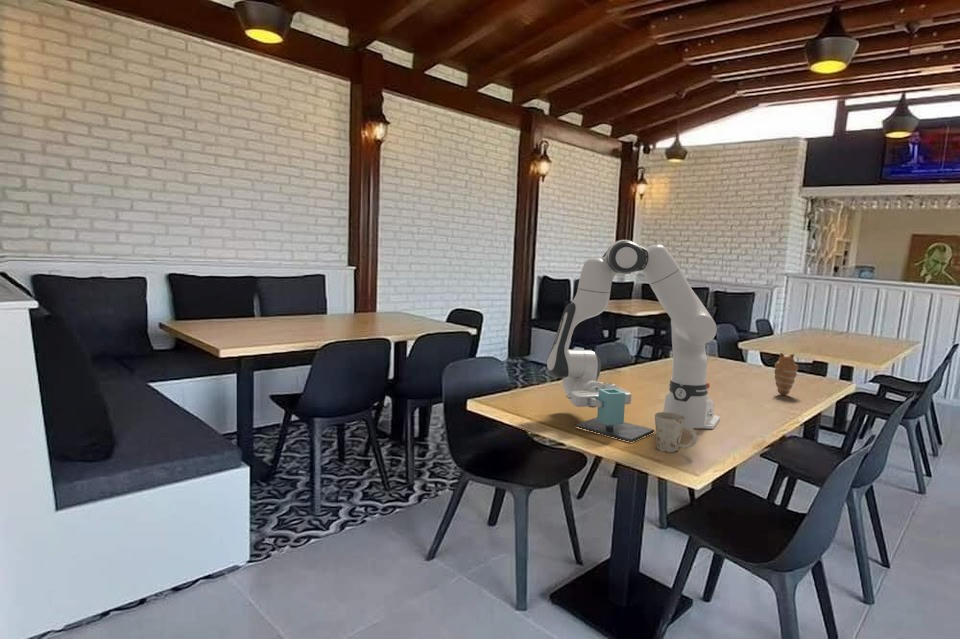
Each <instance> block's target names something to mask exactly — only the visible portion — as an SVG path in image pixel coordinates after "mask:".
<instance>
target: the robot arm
mask: <svg viewBox="0 0 960 639" xmlns="http://www.w3.org/2000/svg"><path fill="white" fill-rule="evenodd" d="M639 271H640V272H641V273H642V274H643V276H644V277H645V278H646V280H647V282H648V284H649V287H650V288H651V289H652V291H653V293H654V294H655V297H656V299H657V300H658V302H659V304H660V305H661V307H662V308H663V309H664V310H665V312H666V313H667V315H668V316H669V318H670V326H671V345H672V348H671V349H672V365H671V366H672V368H671V380H669V386H668V387H669V388H668V389H669V392H668V393H666V395H665V397H664V402H663V403H664V404H663V409H662V412H670V413H676V414H680V415H682V416H684V417H685V421H684V425H687V426H690V427H692V428H693V429H709V430H711V429H712V430H713V429H714V428H715V427H717V426H716V425H718V423H719V422H720V421H721V416H718V415H717V414H714V408H715V405H714V401H713V400H712V399H711V398H710V396H709V395H708V394H709V393H708V391H709V389H710V386H711V384H710V382H707V374H708V373H707V372H708V358H707V353H706V344H708V343H710V342H711V341H712V340H714V339H715V336H716V335H717V331H718V330H717V324H716V322H715V320H714V318H713V317H712V315H711V314H710V312H709V311H708V310H707V308H706V307H705V305H704V303H703V302H702V301H701V299H700V298H699V296H698V295H697V294H696V292H694V290H693V289H692V287H691V285H690V284H689V282H688V280H687V278H686V276H685V274H684V273H683V271H682V270H681V268H680V266H679V264H678V263H677V261H676V260H675V258H674V257H673V255H672V254H671V253H670V252H669V251H668V249H667V248H666V247H665V246H664V245H662V244H651V245H649V246H647V247H643V246H641V245H640V244H637V243H636V242H633V241H632V240H629V239H620V240H616V241H615V242H614V243H612V244H611V245H610V246H609V248H608V249H607V250H606V251H605V253H604V254H603V255H602V257H591V258H588V259H587V260H586V261H585V262H584V263H583V266H582V268H581V272H580V276H579V280H578V284H577V291H576V294H575V296H574V298H573V300H572V301H571V302H570V303H568V304H567V305H566V306H565V308H564V310H563V313H562V316H561V318H560V321H559V326H558V329H557V331H556V334H555V338H554V342H553V345H552V347H551V349H550V352H549V353H548V356H547V358H546V359H547V360H546V368H547V370H548V372H549V373H550V374H551V375H552V376H553V377H554V378H556V379H562V381H561V384H562V389H563V391H564V392H565V393H566V395H565V398H567V399H568V400H570V403H571V404H572V405H573V406H574V407H579V408H584V407H585V408H586V407H588V408H598V407H604V401H599V400H598V396H599V389H617V390H620V391H622V392H624V393H625V405H631V403H632V393H631V392H630V391H628V390H627V389H624V388H622V387H620V386H619V387H618V386H617V384H616V383H611V382H610V383H609V382H602V381H598V379H599V378H600V374H601V369H602V367H601V366H602V362H601V360H600V357H599V356H598V355H597V353H596V352H595V351H593V350H591V349H569V346H570V344H571V340H572V335H573V333H574V330H575V328H576V327H577V326H578V324H580V323H581V322H583V321H586V320H588V319H590V318H594V317H596V316H599V315H600V314H602V313H603V312H604V311H605V310H606V309H607V307H608V305H609V302H610V297H611V290H612V284H613V280H614V278H615V277H616V276H617V275H618V274H631V273H635V272H636V273H637V272H639Z"/></svg>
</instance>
